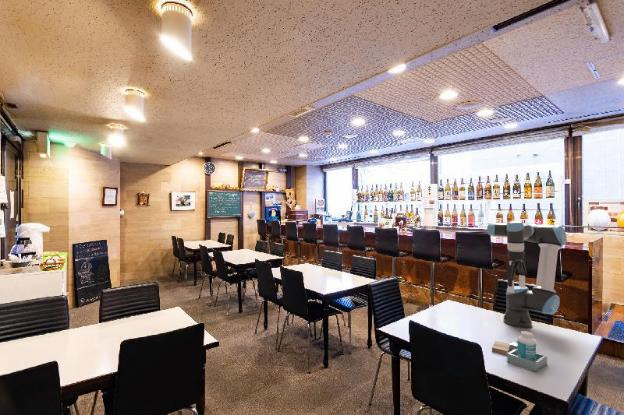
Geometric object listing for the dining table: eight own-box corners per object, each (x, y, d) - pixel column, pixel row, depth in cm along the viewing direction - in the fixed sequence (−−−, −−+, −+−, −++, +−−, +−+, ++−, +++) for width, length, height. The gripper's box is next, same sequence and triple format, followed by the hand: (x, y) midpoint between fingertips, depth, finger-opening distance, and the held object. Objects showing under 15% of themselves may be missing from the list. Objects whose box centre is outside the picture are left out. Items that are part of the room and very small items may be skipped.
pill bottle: (527, 365, 144) (527, 336, 144) (513, 358, 151) (513, 330, 151) (540, 363, 146) (540, 334, 146) (525, 356, 153) (525, 328, 153)
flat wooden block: (495, 345, 169) (495, 340, 169) (510, 348, 164) (510, 344, 164) (492, 352, 161) (492, 347, 161) (508, 356, 157) (507, 351, 157)
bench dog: (513, 351, 160) (513, 342, 160) (519, 354, 157) (519, 344, 157) (509, 354, 158) (509, 344, 158) (516, 356, 155) (516, 346, 155)
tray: (518, 354, 157) (518, 346, 157) (547, 364, 147) (547, 356, 147) (507, 361, 150) (507, 353, 150) (535, 372, 140) (535, 363, 140)
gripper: (518, 247, 178) (519, 284, 178) (497, 252, 163) (498, 292, 164) (533, 248, 172) (534, 286, 172) (513, 254, 157) (514, 296, 158)
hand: (516, 289), depth 168 cm, fingers open, 13 cm apart
